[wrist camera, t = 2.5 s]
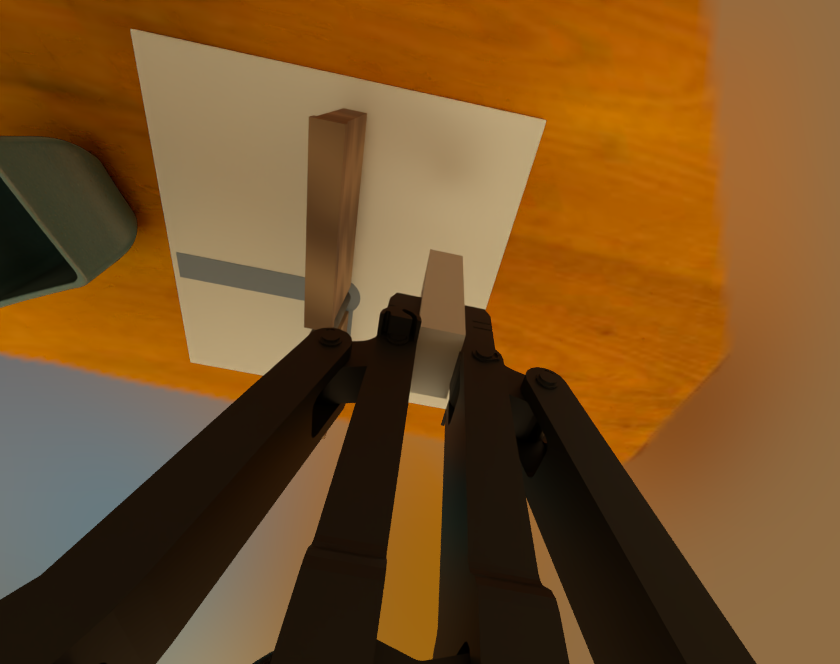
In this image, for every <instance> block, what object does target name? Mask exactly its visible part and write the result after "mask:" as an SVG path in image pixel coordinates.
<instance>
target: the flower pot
mask: <svg viewBox="0 0 840 664" xmlns="http://www.w3.org/2000/svg"><path fill="white" fill-rule="evenodd" d="M136 235H137V218H136V216H135V214H134V213H133V211H132V210H131V208H130V207H129V205H128V204H127V202H126V201H125V199H124V198H123V196H122V195H121V193H120V192H119V190H118V189H117V187H116V185H115V184H114V182H113V181H112V179H111V178H110V176H109V174H108V173H107V171H106V170H105V168H104V167H103V165H102V164H101V162H100V161H99V160H98V158H96V157H95V156H94V155H92V154H91V153H89V152H88V151H86V150H84V149H83V148H81V147H79V146H77V145H75V144H72V143H70V142H67V141H64V140H60V139H56V138H50V137H40V136H0V308H1V307H4V306H8V305H11V304H15V303H18V302H22V301H25V300H29V299H33V298H37V297H41V296H45V295H48V294H53V293H56V292H61V291H65V290H69V289H73V288H79V287H82V286H85V285H86V284H88V283H89V282H90V281H92V280H93V279H94V278H96V277H97V276H98V275H99V274H101V273H102V272H103V271H105V270H106V269H107V268H108V267H110V266H111V265H112V264H114V263H115V262H116V261H117V260H119V259H120V258H121V257H122V256H123V255H124V254H125V253H126V252H127V251H128V250H129V249H130V248H131V246H132V245H133V243H134V241H135V238H136Z"/></svg>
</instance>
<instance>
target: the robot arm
mask: <svg viewBox="0 0 840 664" xmlns="http://www.w3.org/2000/svg"><path fill="white" fill-rule="evenodd" d="M410 392H412V393H417V394H423V395H428V396H433V397H438V398H443V399H447V396H448V392H449V400H448V404H447V407H446V410H445V414H444V417H443V420H442V423H441V425H442V426H444V425H445V444H444V472H443V473H444V474H443V501H442V528H441V556H440V584H439V612H438V613H439V614H438V630H437V637H436V643H435V648H434V653H433V659H432V660H426V661H418V660H416V659H413V658H411V657H409V656H407V655H406V654H404V653H402V652H400V651H398V650H396V649H394V648H392V647H390V646H388V645H386V644H384V643H383V642H381V641H379V640H377V632H378V625H379V618H380V611H381V604H382V597H383V589H384V582H385V574H386V564H387V559H386V555H387V546H388V539H389V532H390V526H391V519H392V512H393V505H394V498H395V491H396V484H397V477H398V471H399V463H400V457H401V450H402V443H403V436H404V429H405V422H406V415H407V408H408V401H409V395H410ZM346 403H356V404H355V407H354V410H353V414H352V417H351V420H350V423H349V427H348V430H347V433H346V436H345V440H344V443H343V446H342V450H341V453H340V456H339V459H338V462H337V466H336V469H335V472H334V475H333V479H332V482H331V485H330V488H329V492H328V495H327V498H326V501H325V505H324V508H323V511H322V514H321V518H320V521H319V524H318V527H317V531H316V534H315V537H314V540H313V542H312V544H311V545H310V546H309V547H308V549H307V551H306V554H305V556H304V559H303V562H302V565H301V568H300V571H299V574H298V577H297V580H296V583H295V587H294V590H293V593H292V596H291V599H290V602H289V605H288V609H287V612H286V615H285V618H284V621H283V624H282V627H281V631H280V634H279V637H278V640H277V643H276V646H275V650H274V651H273V652H271V653H269V654H267V655H265V656H264V657H262V658H261V659H259V660H257V661H255V662H254V663H253V664H569V659H568V654H567V649H566V643H565V638H564V633H563V628H562V622H561V618H560V612H559V609H558V605H557V601H556V598H555V596H554V595H553V593H552V591H551V590H550V589H548V588H546V587H544V586H543V585H542V583H541V581H540V578H539V574H538V569H537V562H536V557H535V550H534V544H533V538H532V532H531V526H530V520H529V514H528V508H527V502H526V498H527V501H528V503H529V505H530V508H531V510H532V513H533V515H534V517H535V520H536V522H537V525H538V527H539V530H540V532H541V535H542V537H543V539H544V542H545V544H546V547H547V549H548V552H549V554H550V557H551V559H552V561H553V564H554V566H555V569H556V571H557V573H558V576H559V578H560V581H561V583H562V586H563V588H564V591H565V593H566V596H567V598H568V600H569V603H570V605H571V608H572V610H573V613H574V615H575V617H576V620H577V622H578V625H579V627H580V630H581V632H582V635H583V637H584V639H585V642H586V644H587V646H588V649H589V652H590V654H591V657H592V659H593V661H594V664H756V662H755V661H754V660H753V658H752V657H751V655H750V654H749V652H748V651H747V649H746V648H745V646H744V645H743V643H742V642H741V640H740V639H739V637H738V636H737V635H736V633H735V632H734V630H733V629H732V627H731V626H730V624H729V623H728V621H727V620H726V618H725V617H724V615H723V614H722V612H721V611H720V609H719V608H718V607H717V605H716V604H715V602H714V601H713V599H712V597H711V596H710V595H709V593H708V592H707V590H706V589H705V587H704V586H703V585H702V583H701V581H700V580H699V578H698V577H697V575H696V574H695V572H694V571H693V569H692V568H691V566H690V565H689V564H688V562H687V561H686V559H685V558H684V556H683V555H682V553H681V552H680V550H679V549H678V548H677V546H676V544H675V543H674V541H673V540H672V538H671V537H670V536H669V534H668V533H667V531H666V530H665V528H664V527H663V525H662V524H661V522H660V521H659V519H658V518H657V516H656V515H655V513H654V512H653V510H652V509H651V507H650V506H649V504H648V503H647V502H646V500H645V499H644V497H643V496H642V494H641V493H640V492H639V490H638V488H637V487H636V485H635V484H634V482H633V481H632V479H631V478H630V476H629V475H628V473H627V472H626V471H625V469H624V468H623V466H622V465H621V463H620V462H619V460H618V459H617V457H616V456H615V454H614V453H613V451H612V450H611V448H610V447H609V445H608V444H607V442H606V441H605V439H604V438H603V436H602V435H601V434H600V432H599V431H598V429H597V428H596V426H595V425H594V423H593V422H592V420H591V419H590V417H589V416H588V414H587V413H586V411H585V410H584V408H583V407H582V405H581V404H580V403H579V401H578V400H577V398H576V397H575V395H574V394H573V392H572V391H571V389H570V388H569V386H568V385H567V383H566V382H565V381H564V380H563V379H562V377H561V376H559V375H558V374H556V373H555V372H553V371H551V370H548V369H545V368H539V367H536V368H531V369H529V370H527V372H526V375H524V374H521V373H519V372H517V371H514V370H512V369H510V368H508V367H507V366H505V365H504V362H503V358H502V356H501V354H500V353H499V352H498V351H497V350H495V345H494V339H493V332H492V326H491V318H490V316H489V314H488V313H487V312H486V311H485V309H481V308H476V307H471V306H466V305H465V303H464V277H463V256H461V255H456V254H451V253H446V252H441V251H437V250H432V249H430V253H429V258H428V262H427V267H426V272H425V277H424V281H423V286H422V291H421V296H420V297H417V296H412V295H408V294H403V293H398V292H397V293H396V294H394V295H393V296H392V297H390V300H389V303H388V307H387V308H385V309H383V310H382V311H381V312H380V317H379V323H378V330H377V336H376V337H374V338H372V339H369V340H365V341H352V338H351V336H350V335H349V334H348V333H347V332H345V331H343V330H341V329H337V328H321V329H317V330H315V331H313V332H312V333H310V334H309V335H308V336H307V337H306V338H305V339H304V340H303V341H302V342H300V343H299V344H298V345H297V346H296V347H295V348H294V349H293V350H291V351H290V352H289V353H288V354H287V355H286V356H285V357H284V358H283V359H281V360H280V361H279V362H278V363H277V364H276V365H275V366H274V367H273V368H271V369H270V370H269V371H268V372H267V373H266V374H265V375H264V376H262V377H261V378H260V379H259V380H258V381H257V382H256V383H255V384H254V385H252V386H251V387H250V388H249V389H248V390H247V391H246V392H245V393H243V394H242V395H241V396H240V397H239V398H238V399H237V400H236V401H235V402H233V403H232V404H231V405H230V406H229V407H228V408H227V409H226V410H225V411H223V412H222V413H221V414H220V415H219V416H218V417H217V418H216V419H214V420H213V421H212V422H211V423H210V424H209V425H208V426H207V427H206V428H204V429H203V430H202V431H201V432H200V433H199V434H198V435H197V436H196V437H194V438H193V439H192V440H191V441H190V442H189V443H188V444H187V445H185V446H184V447H183V448H182V449H181V450H180V451H179V452H178V453H177V454H175V455H174V456H173V457H172V458H171V459H170V460H169V461H168V462H166V464H164V465H163V466H162V467H161V468H160V469H159V470H158V471H156V472H155V473H154V474H153V475H152V476H151V477H150V478H149V479H148V480H146V481H145V482H144V483H143V484H142V485H141V486H140V487H139V488H137V489H136V490H135V491H134V492H133V493H132V494H131V495H130V496H129V497H127V498H126V499H125V500H124V501H123V502H122V503H121V504H120V505H118V506H117V507H116V508H115V509H114V510H113V511H112V512H111V513H110V514H108V515H107V516H106V517H105V518H104V519H103V520H102V521H101V522H100V523H98V524H97V525H96V526H95V527H94V528H93V529H92V530H91V531H90V532H88V533H87V534H86V535H85V536H84V537H83V538H82V539H81V540H80V541H78V542H77V543H76V544H75V545H74V546H73V547H72V548H71V549H70V550H68V551H67V552H66V553H65V554H64V555H63V556H62V557H61V558H59V559H58V560H57V561H56V562H55V563H54V564H53V565H52V566H50V567H49V568H48V569H47V570H46V571H45V572H44V573H43V574H42V575H40V576H39V577H37V578H36V579H34V580H32V581H31V582H29V583H27V584H25V585H24V586H22V587H20V588H19V589H17V590H16V591H14V592H12V593H11V594H9V595H7V596H6V597H4V598H2V599H1V600H0V664H156V663H157V661H158V660H159V659H160V658H161V657H162V655H163V654H164V653H165V652H166V650H167V649H168V648H169V646H170V645H171V644H172V643H173V641H174V639H176V637H177V636H178V634H179V633H180V632H181V630H182V629H183V628H184V626H185V625H186V624H187V622H188V621H189V619H190V618H191V617H192V615H193V614H194V613H195V611H196V610H197V608H198V607H199V606H200V604H201V603H202V602H203V600H204V599H205V598H206V596H207V595H208V593H209V592H210V591H211V589H212V588H213V586H214V585H215V584H216V583H217V581H218V580H219V578H220V577H221V576H222V574H223V573H224V572H225V570H226V569H227V567H228V566H229V565H230V563H231V562H232V561H233V559H234V558H235V557H236V555H237V554H238V552H239V551H240V549H241V548H242V547H243V545H244V544H245V543H246V541H247V540H248V539H249V537H250V536H251V535H252V533H253V532H254V530H255V529H256V528H257V526H258V525H259V524H260V522H261V521H262V520H263V518H264V517H265V515H266V514H267V513H268V511H269V510H270V508H271V507H272V506H273V504H274V503H275V502H276V500H277V499H278V498H279V496H280V495H281V493H282V492H283V491H284V489H285V488H286V487H287V485H288V484H289V482H290V481H291V480H292V478H293V477H294V476H295V474H296V473H297V472H298V470H299V469H300V468H301V466H302V465H303V463H304V462H305V461H306V459H307V458H308V457H309V455H310V454H311V452H312V451H313V450H314V448H315V447H316V446H317V444H318V443H319V442H320V440H321V439H322V437H323V436H324V435H325V433H326V432H327V430H328V429H329V428H330V426H331V425H332V424H333V422H334V421H335V420H336V418H337V417H338V415H339V414H340V413H341V411H342V410H343V409H344V406H345V404H346Z"/></svg>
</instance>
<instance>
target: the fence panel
mask: <svg viewBox="0 0 840 664" xmlns="http://www.w3.org/2000/svg"><path fill="white" fill-rule="evenodd" d="M366 120H367V113H364V112H359V111H355V110H350V109H346V108H342V109H339V110H336V111H332V112H329V113H325V114H322V115H318V116H314V115H313V116H310V117H309V129H308V173H307V216H306V260H305V303H304V328H310V329H315V330H317V329H321V328H333V327H334V320H335V318H336V316H337V314H338V311H339V309H340V307H341V305H342V303H343V301H344V299H345V297H346V295H347V293H348V291H349V289H350V286H351V277H352V266H353V256H354V245H355V235H356V225H357V214H358V204H359V193H360V183H361V172H362V162H363V152H364V141H365V131H366Z"/></svg>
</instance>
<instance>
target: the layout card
mask: <svg viewBox="0 0 840 664" xmlns="http://www.w3.org/2000/svg"><path fill="white" fill-rule="evenodd" d="M130 31H131V37H132V42H133V48H134V53H135V59H136V64H137V70H138V75H139V81H140V86H141V92H142V97H143V103H144V108H145V114H146V119H147V125H148V130H149V136H150V141H151V147H152V152H153V158H154V163H155V169H156V174H157V180H158V185H159V191H160V197H161V202H162V208H163V213H164V219H165V224H166V230H167V235H168V241H169V246H170V252H171V257H172V263H173V268H174V274H175V279H176V285H177V290H178V296H179V301H180V307H181V312H182V318H183V323H184V329H185V334H186V340H187V345H188V351H189V356H190V362H192V363H198V364H203V365H209V366H214V367H219V368H225V369H230V370H236V371H241V372H247V373H252V374H258V375H263V376H264V375H265V374H266V373H267V372H268V371H269V370H270V369H271V368H273V367H274V366H275V365H276V364H277V363H278V362H279V361H280V360H281V359H283V358H284V357H285V356H286V355H287V354H288V353H289V352H290V351H291V350H293V349H294V348H295V347H296V346H297V345H298V344H299V343H300V342H302V341H303V340H304V339H305V338H306V337H307V336H308V335H309V334H310V332H311V330H312V329H310V328H304V303H305V260H306V216H307V173H308V129H309V117H310V116H313V115H314V116H318V115H322V114H325V113H329V112H332V111H336V110H339V109H342V108H346V109H350V110H355V111H359V112H364V113H367V120H366V131H365V141H364V152H363V162H362V172H361V183H360V193H359V204H358V214H357V225H356V235H355V245H354V256H353V266H352V277H351V286H350V289H349V291H348V292H349V294H350V296H351V299H350V302H349V304H348V306H347V309H346V311H349V314H348V325H347V333H348V334H349V335H350V336H351V338H352V341H365V340H369V339H372V338H374V337H376V336H377V330H378V323H379V317H380V312H381V311H382V310H383V309H385V308H387V307H388V303H389V300H390V297H392V296H393V295H394V294H396V293H397V292H398V293H403V294H408V295H412V296H417V297H420V296H421V291H422V286H423V281H424V277H425V272H426V267H427V262H428V258H429V253H430V249H432V250H437V251H441V252H446V253H451V254H456V255H461V256H463V277H464V303H465V305H466V306H471V307H476V308H481V309H486V306H487V303H488V300H489V297H490V294H491V291H492V288H493V285H494V282H495V278H496V275H497V272H498V269H499V266H500V263H501V260H502V257H503V254H504V251H505V248H506V244H507V241H508V238H509V235H510V232H511V229H512V226H513V223H514V220H515V217H516V214H517V210H518V207H519V204H520V201H521V198H522V195H523V192H524V189H525V186H526V183H527V180H528V176H529V173H530V170H531V167H532V164H533V161H534V158H535V155H536V152H537V149H538V145H539V142H540V139H541V136H542V133H543V130H544V127H545V124H546V121H547V120H544V119H541V118H536V117H532V116H527V115H523V114H518V113H514V112H509V111H505V110H500V109H495V108H491V107H486V106H482V105H477V104H473V103H468V102H464V101H459V100H455V99H450V98H446V97H441V96H437V95H432V94H427V93H423V92H418V91H414V90H409V89H405V88H400V87H396V86H391V85H387V84H382V83H378V82H373V81H369V80H364V79H359V78H355V77H350V76H346V75H341V74H337V73H332V72H328V71H323V70H319V69H314V68H310V67H305V66H301V65H296V64H291V63H287V62H282V61H278V60H273V59H269V58H264V57H260V56H255V55H251V54H246V53H242V52H237V51H233V50H228V49H223V48H219V47H214V46H210V45H205V44H201V43H196V42H192V41H187V40H183V39H178V38H174V37H169V36H165V35H160V34H155V33H151V32H146V31H142V30H136V29H130ZM448 400H449V392H448V396H447V399H443V398H438V397H433V396H428V395H423V394H417V393H412V392H410V395H409V401H408V402H410V403H415V404H421V405H426V406H432V407H437V408H443V409H446V407H447V404H448Z"/></svg>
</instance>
